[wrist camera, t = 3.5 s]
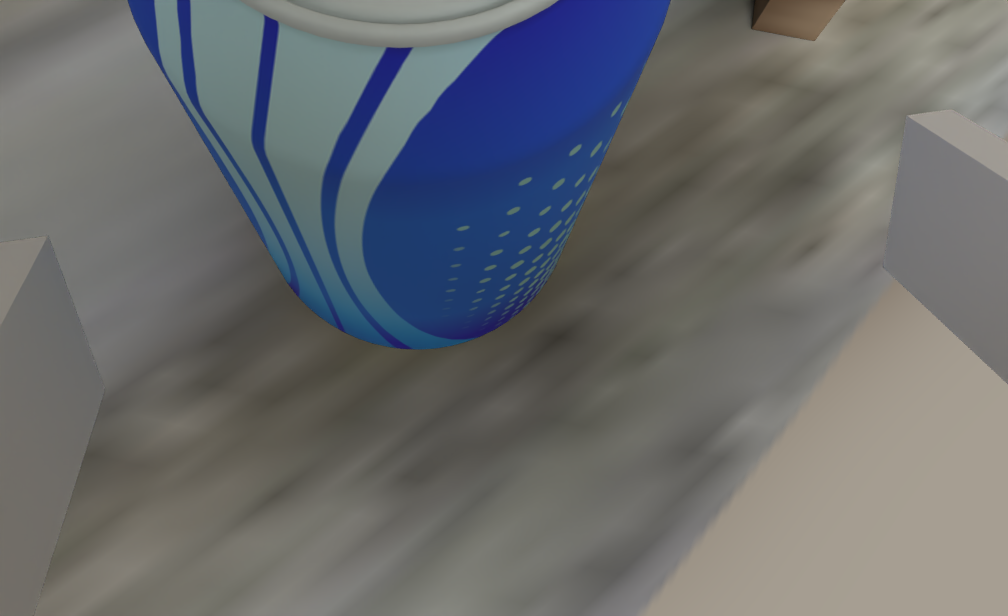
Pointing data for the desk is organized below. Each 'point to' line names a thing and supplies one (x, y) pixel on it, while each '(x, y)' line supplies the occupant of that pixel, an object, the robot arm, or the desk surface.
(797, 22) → the shelf stand
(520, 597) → the desk surface
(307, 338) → the desk surface
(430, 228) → the beer can
